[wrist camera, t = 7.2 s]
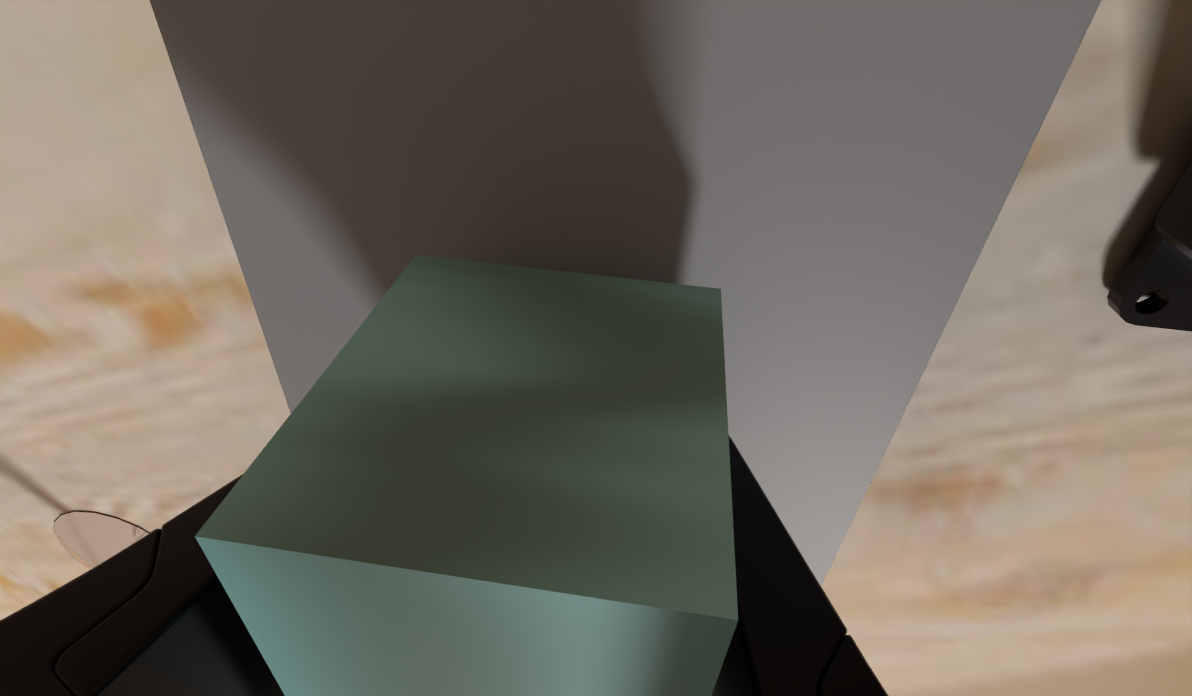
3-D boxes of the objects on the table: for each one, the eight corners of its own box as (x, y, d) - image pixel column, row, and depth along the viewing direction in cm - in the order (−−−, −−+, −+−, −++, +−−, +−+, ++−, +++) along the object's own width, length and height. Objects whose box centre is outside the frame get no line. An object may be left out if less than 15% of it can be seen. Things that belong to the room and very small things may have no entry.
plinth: (1012, -26, 9) (1102, -3, 7) (805, 503, 16) (820, 588, 14) (240, -79, 10) (124, -73, 8) (369, 443, 17) (325, 515, 15)
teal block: (720, 288, 9) (737, 619, 5) (679, 495, 11) (668, 815, 7) (416, 255, 9) (195, 535, 5) (445, 462, 12) (317, 752, 8)
